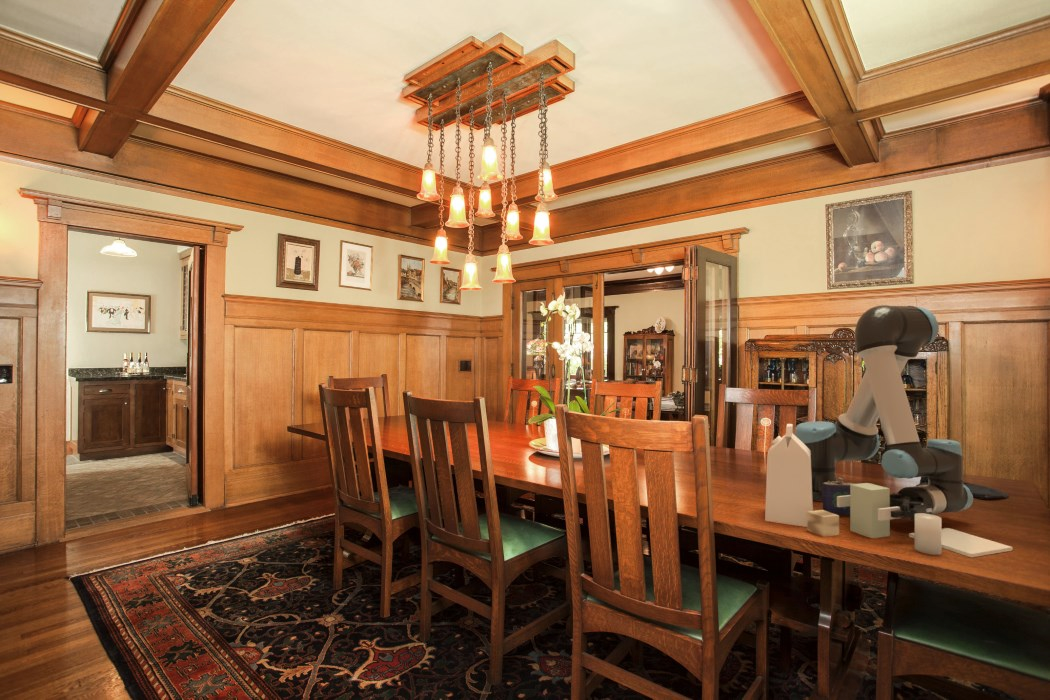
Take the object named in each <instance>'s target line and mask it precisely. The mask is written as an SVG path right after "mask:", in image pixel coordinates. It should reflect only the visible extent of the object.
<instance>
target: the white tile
mask: <svg viewBox="0 0 1050 700" xmlns="http://www.w3.org/2000/svg"><path fill="white" fill-rule="evenodd" d="M941 530H942V549H944V550H947V551H950V552H953V553H956V554H959V555H963V556H965V557H968V558H970V559H971V558H977V557H981V556H982V557H983V556H989V555H994V554H1001V553H1005V552H1011V551H1013V546H1011V545H1006V544H1003V543H1000V542H997V541H995V540H994V541H992V540H990V539H987V538H984V537H980V536H976V535H973V534H970V533H967V532H963V531H960V530H957V529H953V528H949V527H944V528H941ZM908 537H909V538H912V539H914V540H915V532H911V533H908Z"/></svg>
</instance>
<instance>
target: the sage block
mask: <svg viewBox="0 0 1050 700" xmlns="http://www.w3.org/2000/svg"><path fill="white" fill-rule="evenodd" d="M890 494H891V492H890V488H889V487H885V486H882V485H878V484H874V483H871V482H870V483H869V482H863V483H862V482H861V483H854V484H850V516H849V517H850V518H849V519H850V520H849V522H850V524H849V525H850V527H849V529H850V531H851V532H853V533H855V534H858V535H861V536H864V537H866V538H870V539H878V538H884V537H890V534H891V533H890V532H891V530H890V529H891V527H890V524H891V523H890V521H891V519H890V520H882V521H880V520H878V509H879V508H887V507H890Z"/></svg>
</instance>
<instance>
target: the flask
mask: <svg viewBox="0 0 1050 700" xmlns="http://www.w3.org/2000/svg"><path fill="white" fill-rule="evenodd" d="M843 480H845V479H844V478H842V477H839V476H838V477H837V481H835V482H834V481H832V482H834V483H832V482H829V481H828V482H825V483H823V484H822V487H823V488H822V492H823V501H822V510H825V511H828V512H830V513H833V514H836V515H839V517H850V506H846V507H837V496H845V495H849V492H850V484H855V483H853V482H844V481H843Z"/></svg>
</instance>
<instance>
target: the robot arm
mask: <svg viewBox="0 0 1050 700" xmlns="http://www.w3.org/2000/svg"><path fill="white" fill-rule="evenodd" d="M939 327H940V326H939V322H938V320H937V317H936V315H935V314H934V313H933V312H932V311H930V310H929V309H927V308H925V307H922V306H921V307H920V306H916V305H915V306H914V305H886V304H885V305H884V304H882V305H876V306H873V307H871V308H869V309H867V310H865V312H863V314H861V316H860V317H859V318H858V320H857V323H856V325H855V329H854V345H855V350H856V353H857V356H858V357H861V358H862V359H863V362H864V363H863V364H864V367H865V371H864V374H863V376H862V378H861V381H860V383H859V384H858V387H857V389H856V391H855V393H854V395H853V397H852V399H851V401H850V404H849V406H848V409H847V411H846V412H844V413H842V414H841V413H840V415H839V416H838V417H837V420H836V421H835V423H833V422H831V421H822V420H821V421H820V420H819V421H805V422H801V423H798V424H797V425H796V426H795V428H794V435H795V436H796V437H797V438H798V439H799V440H800V441H802V442H803V443H804V444H805V445H806V446H807V447H808V448H809V450H810V453H811V475H812V498H813V501H816V502H823V492H822V488H823V487H822V484H823V483H825V482H828V481H829V482H832V481H834V482H835V481H837V480H838V477H837V473H836V463H838V462H839V463H840V462H852V461H853V462H860V461H864V460H869V459H871V458H873V457H874V456H875V455H876V454H877V452H878V451H879V449H880V446H881V441H880V436H879V429H878V426H877V425H876V424H877V422H878V421H880V425H881V429H882V433H883V437H884V439H885V443H886V448H887V450H886V451H885V452H884V453H883V454H882V455H881V461H880V463H881V466H882V469H883V471H885V473H886V474H887V475H889V476H890V477H893V478H895V479H913V478H921V477H925V476H927V477H928V485H921V486H916V485H915V486H905V487H902V488H901V489H899V491H898V492H897V493H890V507H887V508H879V509H878V520H880V521H882V520H890V521H891V520H895V519H896V520H897V519H904V520H907V519H908V518H910V520H911V521H913V522H915V514H916V513H925V514H931V515H937V514H945V513H946V514H947V513H957V512H960V511H964V510H967V509H968V508H970V507H971V506H972V504H973V502H974V498H973V495H972V493H971V491H970V489H969V488H968V487H967V486H965V485H964V484H963V482H964V463H963V461H964V459H963V458H964V456H963V455H964V454H963V448H962V444H961V443H960V442H959V441H957V440H953V439H945V438H930V439H928V440H927V441H926V446H925V447H922V444H921V441H920V437H919V434H918V430H917V427H916V424H915V420H914V417H913V413H912V410H911V409H912V408H911V407H910V406H911V405H910V402H909V400H908V399H909V398H908V396H907V393H906V389H905V385H904V382H903V378H902V372H903V371H904V368H905V366H906V365H907V362H908V361H909V360H911V359H915V358H917V356H918V354H919V352H920V350H921V349H922V348H923V347H925V346H928V345H930V344H932V343H933V342H934V341H935V340H936V339H937V337H938V336H939V335H938V334H939V329H940V328H939ZM834 482H832V483H834ZM846 506H850V492H849V495H845V496H837V507H846Z"/></svg>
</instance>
